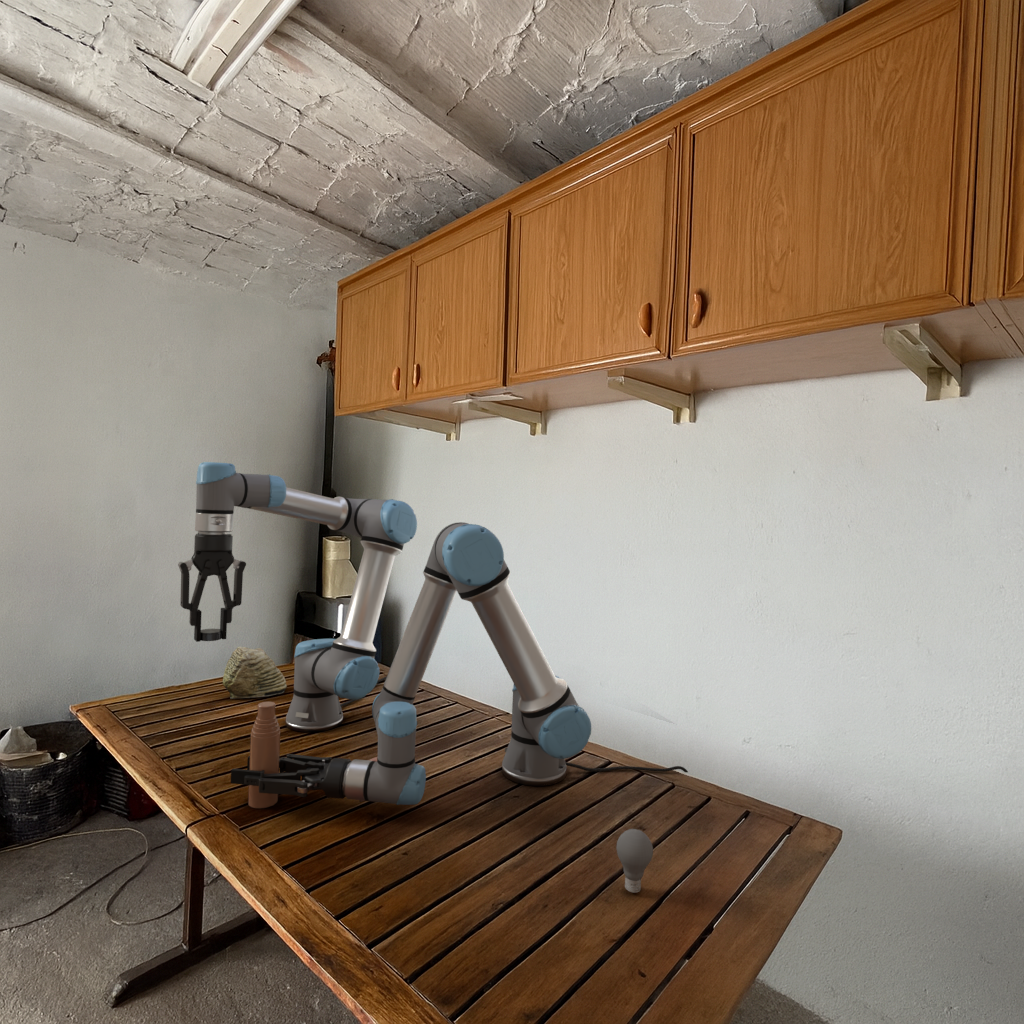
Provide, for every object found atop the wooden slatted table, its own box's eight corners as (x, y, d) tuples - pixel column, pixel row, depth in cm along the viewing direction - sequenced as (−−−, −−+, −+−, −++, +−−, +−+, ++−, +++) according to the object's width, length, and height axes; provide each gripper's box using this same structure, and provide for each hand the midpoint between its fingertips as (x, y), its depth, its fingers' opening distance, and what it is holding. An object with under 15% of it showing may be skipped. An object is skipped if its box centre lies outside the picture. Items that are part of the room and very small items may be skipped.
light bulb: (610, 879, 108) (613, 822, 108) (644, 879, 109) (647, 822, 109) (619, 902, 102) (622, 840, 102) (655, 901, 103) (658, 840, 103)
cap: (224, 639, 138) (224, 631, 138) (201, 642, 136) (201, 633, 136) (219, 635, 142) (219, 627, 142) (196, 637, 139) (196, 629, 139)
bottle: (241, 804, 129) (245, 705, 129) (262, 792, 134) (266, 698, 134) (263, 810, 127) (267, 710, 126) (283, 798, 132) (287, 702, 132)
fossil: (218, 695, 195) (220, 647, 195) (278, 685, 208) (279, 640, 207) (228, 703, 189) (230, 653, 188) (289, 692, 201) (290, 645, 201)
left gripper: (172, 534, 130) (168, 646, 131) (260, 534, 141) (256, 638, 141) (165, 531, 136) (162, 639, 137) (251, 532, 147) (247, 632, 147)
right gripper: (330, 820, 119) (213, 808, 122) (363, 777, 138) (261, 768, 140) (331, 780, 119) (215, 770, 122) (364, 743, 138) (263, 734, 140)
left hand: (210, 638), depth 139 cm, fingers closed on cap, 4 cm apart
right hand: (240, 769), depth 131 cm, fingers closed on bottle, 6 cm apart
